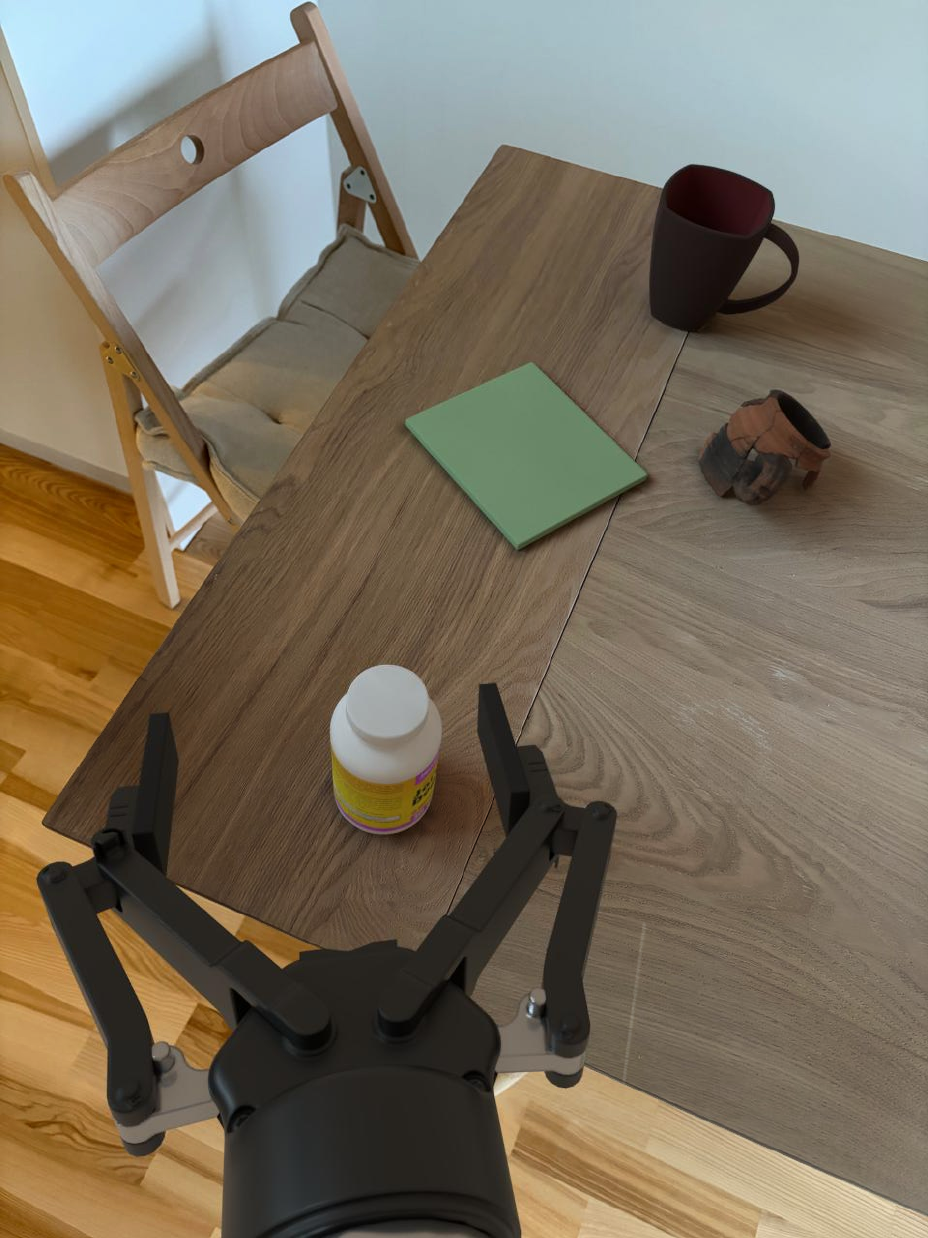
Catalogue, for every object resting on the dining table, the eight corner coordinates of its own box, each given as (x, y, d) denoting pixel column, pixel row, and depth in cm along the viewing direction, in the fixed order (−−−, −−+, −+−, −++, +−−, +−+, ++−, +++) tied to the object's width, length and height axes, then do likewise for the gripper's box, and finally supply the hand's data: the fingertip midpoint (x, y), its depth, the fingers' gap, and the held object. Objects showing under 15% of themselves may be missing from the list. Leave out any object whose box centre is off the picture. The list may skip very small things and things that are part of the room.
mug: (650, 265, 96) (683, 153, 86) (779, 312, 94) (829, 203, 84) (617, 321, 91) (648, 209, 81) (753, 372, 89) (802, 264, 79)
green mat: (404, 425, 81) (405, 418, 81) (530, 367, 87) (532, 360, 86) (517, 550, 75) (518, 544, 74) (645, 480, 80) (648, 474, 80)
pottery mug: (690, 428, 85) (759, 362, 80) (765, 487, 87) (837, 427, 82) (690, 502, 76) (768, 434, 71) (774, 566, 78) (855, 504, 73)
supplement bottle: (418, 849, 61) (429, 769, 50) (320, 823, 62) (311, 738, 51) (443, 757, 65) (458, 665, 54) (351, 734, 65) (347, 637, 54)
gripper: (-124, 1449, 23) (41, 816, 40) (814, 1265, 27) (602, 757, 44) (-248, 1332, 19) (-4, 678, 36) (888, 1132, 23) (621, 627, 40)
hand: (329, 721), depth 40 cm, fingers open, 13 cm apart
